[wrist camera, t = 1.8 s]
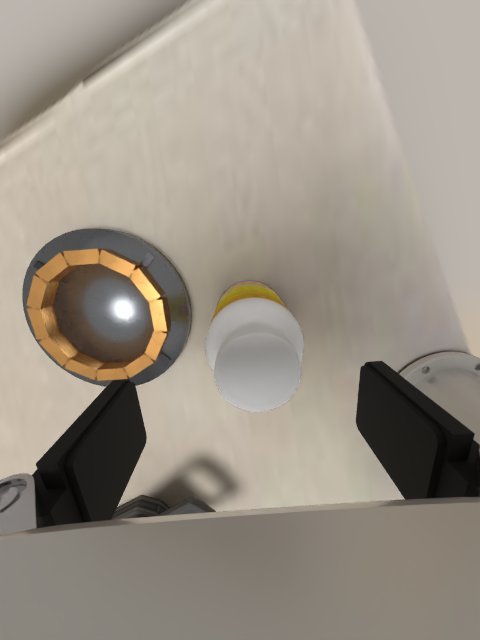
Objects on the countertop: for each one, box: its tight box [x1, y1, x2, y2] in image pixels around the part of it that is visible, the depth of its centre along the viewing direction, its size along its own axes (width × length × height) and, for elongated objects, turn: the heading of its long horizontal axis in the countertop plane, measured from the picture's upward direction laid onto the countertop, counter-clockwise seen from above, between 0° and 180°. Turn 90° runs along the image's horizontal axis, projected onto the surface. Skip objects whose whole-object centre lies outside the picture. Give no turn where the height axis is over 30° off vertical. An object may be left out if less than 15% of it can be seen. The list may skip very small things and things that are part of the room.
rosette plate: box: [23, 229, 191, 387], centre depth 23 cm, size 16×16×3 cm
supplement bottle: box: [205, 281, 304, 412], centre depth 19 cm, size 7×7×13 cm
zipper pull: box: [111, 495, 216, 520], centre depth 30 cm, size 9×7×25 cm
